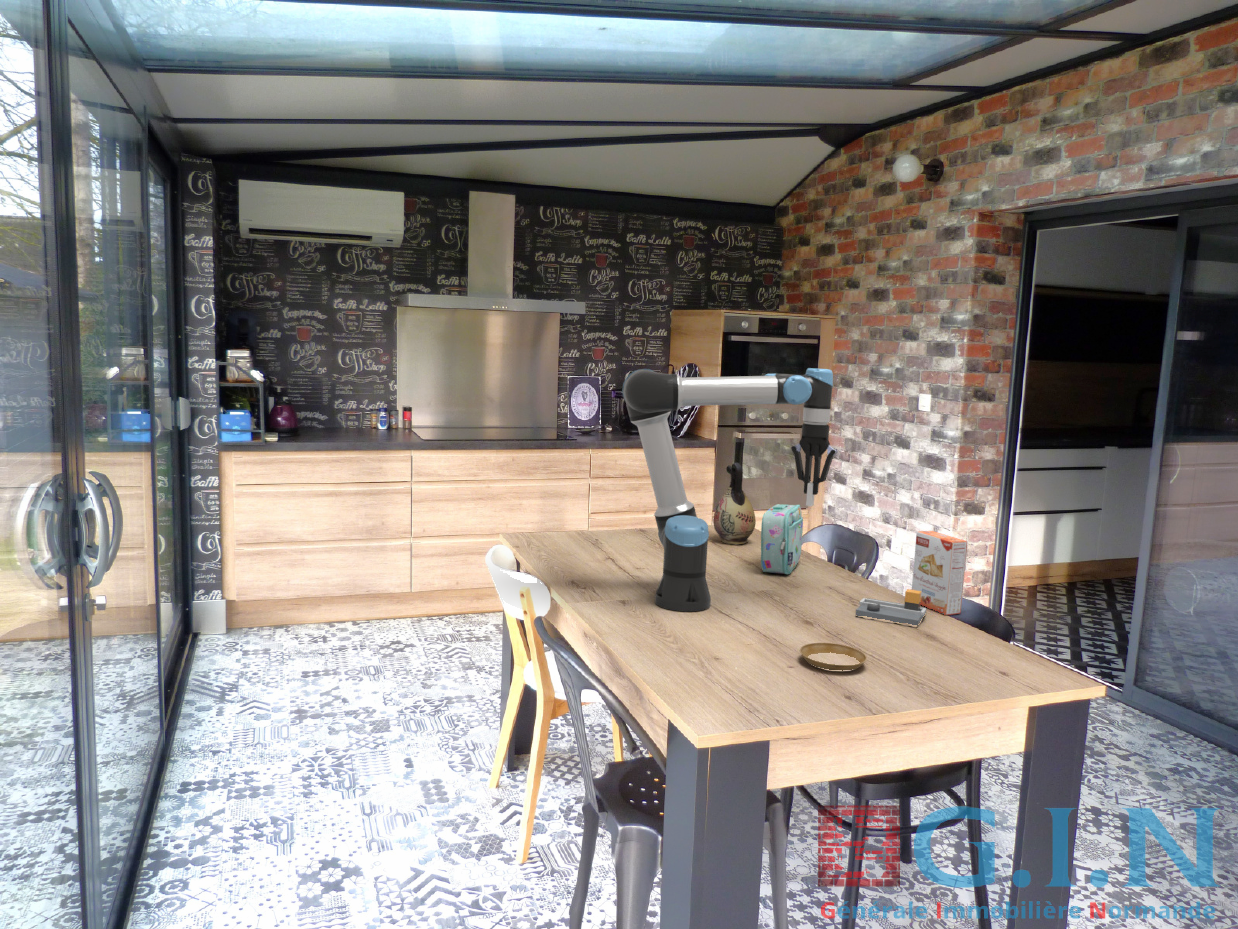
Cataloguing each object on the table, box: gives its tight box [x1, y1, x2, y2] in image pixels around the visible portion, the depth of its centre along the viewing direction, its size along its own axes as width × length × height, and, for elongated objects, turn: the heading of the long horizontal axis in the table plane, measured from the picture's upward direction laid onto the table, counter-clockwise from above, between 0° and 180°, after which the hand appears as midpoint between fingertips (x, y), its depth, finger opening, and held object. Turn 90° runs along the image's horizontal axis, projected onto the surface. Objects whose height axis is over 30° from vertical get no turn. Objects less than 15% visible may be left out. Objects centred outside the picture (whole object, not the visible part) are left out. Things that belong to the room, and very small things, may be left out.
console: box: [855, 597, 928, 627], centre depth 238 cm, size 14×17×4 cm
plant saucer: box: [799, 642, 868, 671], centre depth 199 cm, size 15×15×3 cm
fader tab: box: [904, 588, 922, 611], centre depth 237 cm, size 3×4×5 cm
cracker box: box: [911, 530, 968, 616], centre depth 247 cm, size 14×6×21 cm, turn 23°
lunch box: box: [760, 503, 804, 575], centre depth 286 cm, size 27×10×21 cm, turn 160°
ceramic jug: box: [712, 462, 756, 546], centre depth 321 cm, size 17×15×30 cm
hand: (809, 505), depth 252 cm, fingers closed
